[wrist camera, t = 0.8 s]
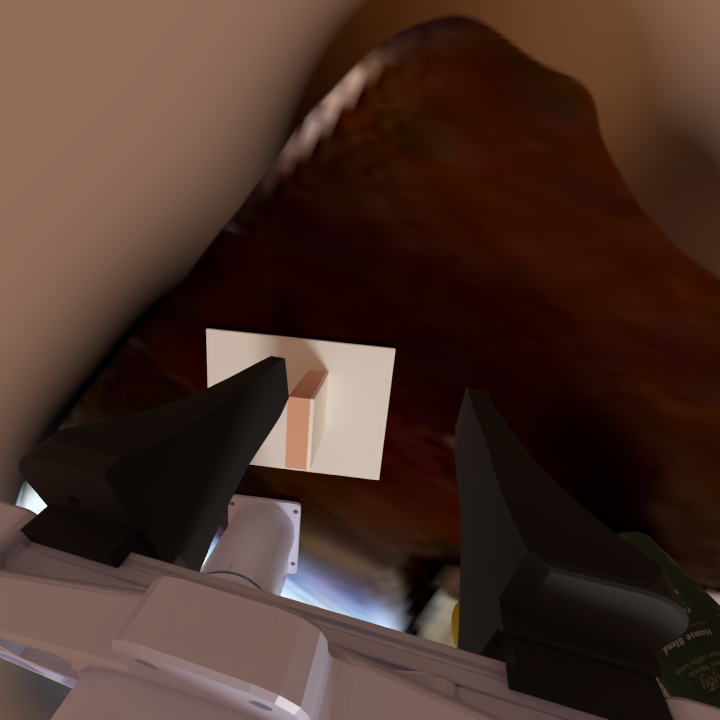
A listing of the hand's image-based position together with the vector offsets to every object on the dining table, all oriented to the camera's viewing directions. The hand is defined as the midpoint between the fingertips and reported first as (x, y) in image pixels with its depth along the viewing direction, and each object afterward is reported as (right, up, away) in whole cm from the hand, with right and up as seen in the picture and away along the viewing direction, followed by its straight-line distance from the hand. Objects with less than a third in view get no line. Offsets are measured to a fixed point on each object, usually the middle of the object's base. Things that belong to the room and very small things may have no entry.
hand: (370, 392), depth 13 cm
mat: (-7, -3, +19) cm, 21 cm away
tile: (-5, -3, +18) cm, 19 cm away
